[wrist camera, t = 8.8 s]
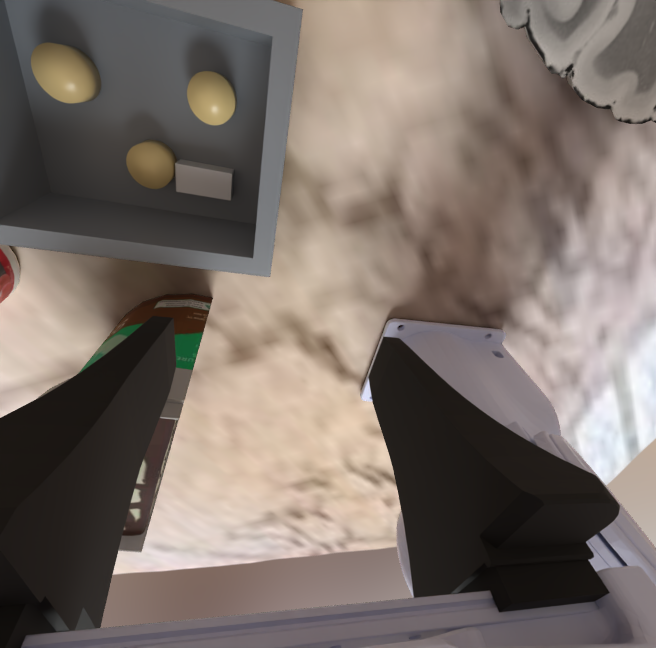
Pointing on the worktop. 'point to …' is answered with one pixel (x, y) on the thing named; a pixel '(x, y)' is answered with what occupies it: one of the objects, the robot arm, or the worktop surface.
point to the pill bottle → (8, 272)
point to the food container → (188, 336)
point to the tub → (146, 128)
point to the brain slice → (596, 49)
